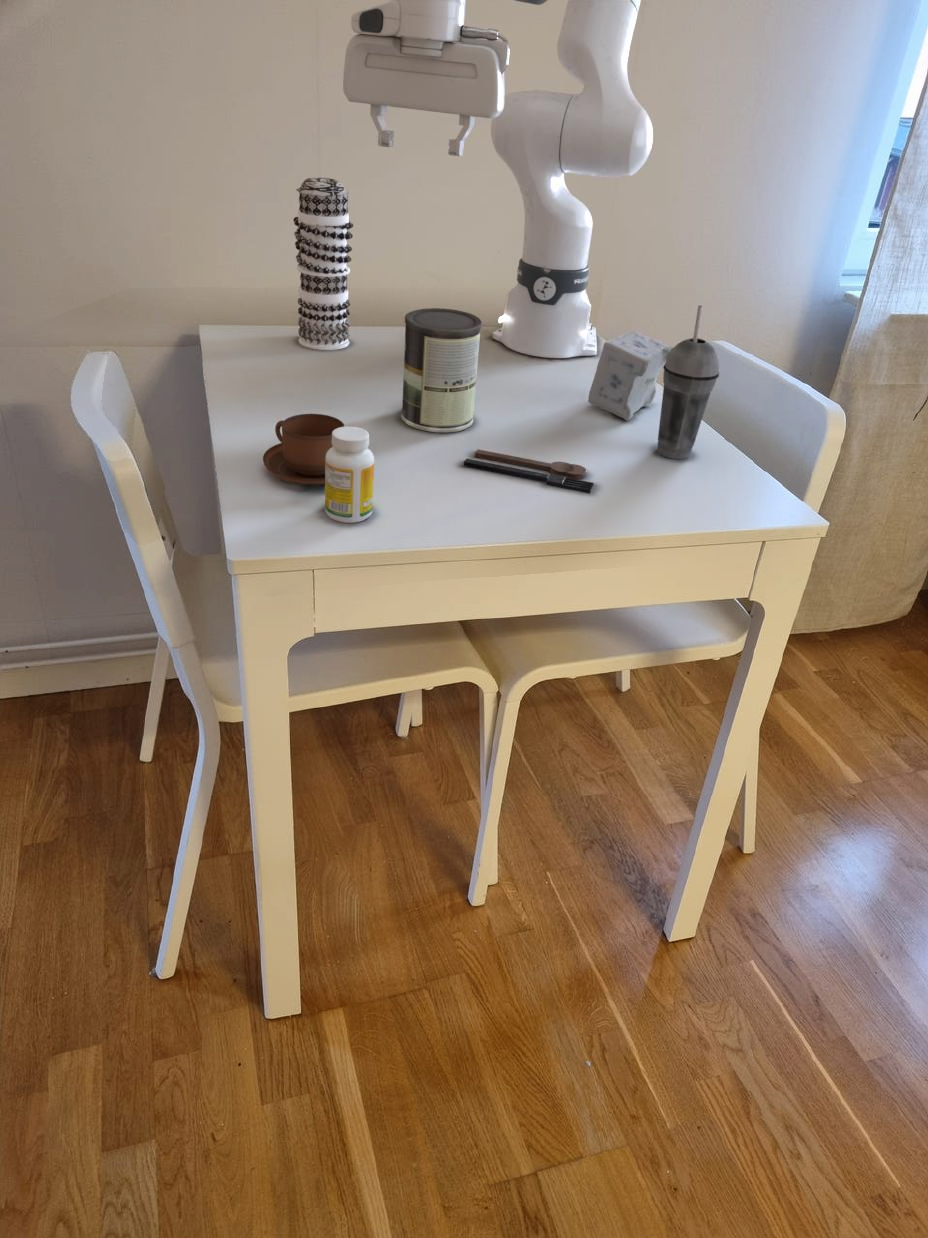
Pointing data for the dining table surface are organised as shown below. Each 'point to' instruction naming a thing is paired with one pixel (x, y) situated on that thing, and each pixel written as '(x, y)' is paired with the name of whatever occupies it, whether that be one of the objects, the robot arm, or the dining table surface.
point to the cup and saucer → (302, 448)
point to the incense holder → (628, 373)
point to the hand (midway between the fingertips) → (420, 150)
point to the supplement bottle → (349, 476)
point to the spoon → (537, 464)
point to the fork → (533, 475)
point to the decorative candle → (323, 263)
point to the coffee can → (440, 369)
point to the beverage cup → (686, 393)
